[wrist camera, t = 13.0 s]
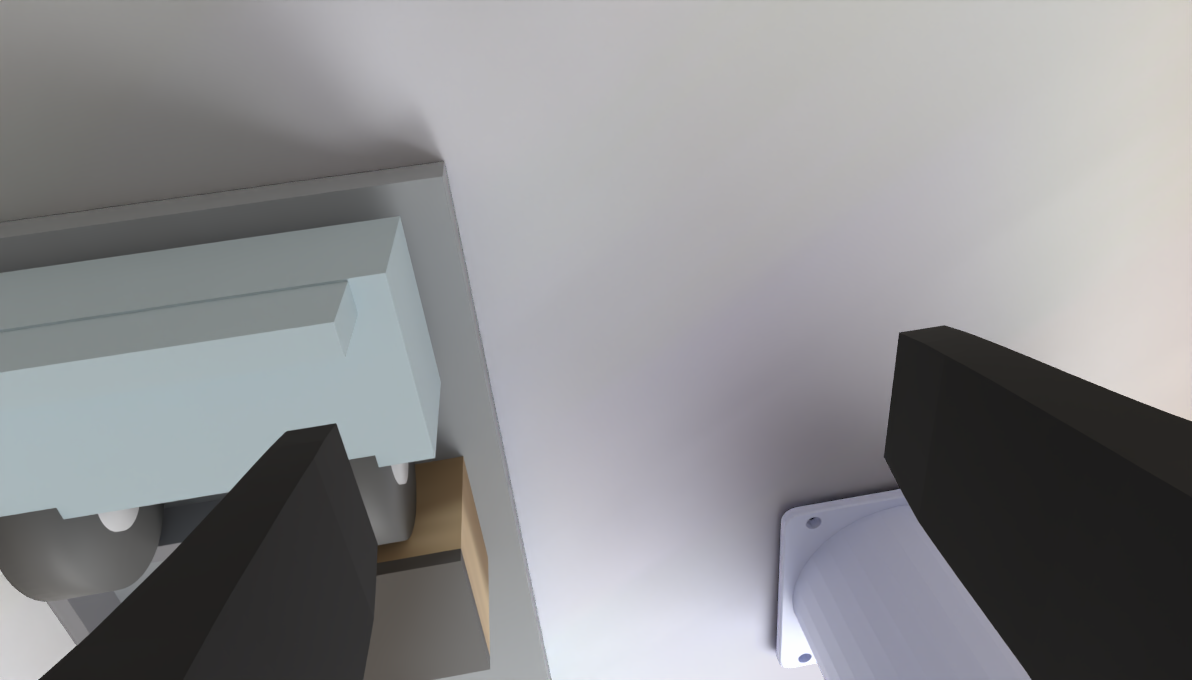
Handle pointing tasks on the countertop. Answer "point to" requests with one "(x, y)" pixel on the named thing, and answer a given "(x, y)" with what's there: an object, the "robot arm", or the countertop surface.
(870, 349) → the countertop surface
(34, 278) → the trolley
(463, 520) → the wooden cube
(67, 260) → the ramp board
